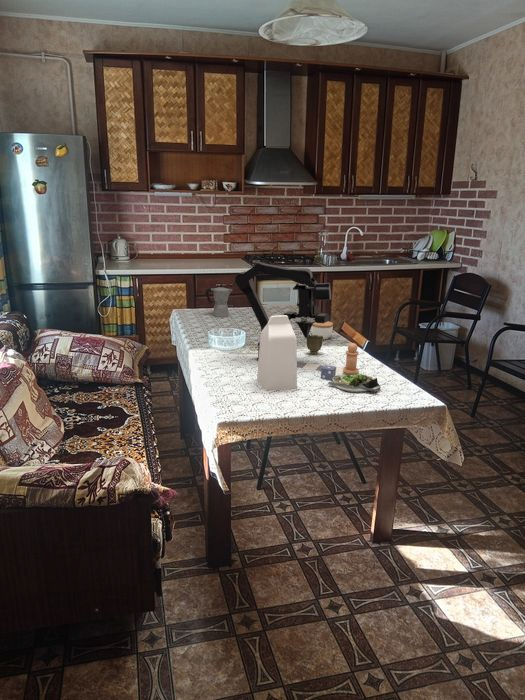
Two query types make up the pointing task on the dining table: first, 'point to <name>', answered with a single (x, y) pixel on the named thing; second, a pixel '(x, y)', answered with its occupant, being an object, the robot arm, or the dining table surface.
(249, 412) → the dining table surface
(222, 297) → the coffeepot
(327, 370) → the die
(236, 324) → the dining table surface
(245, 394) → the dining table surface
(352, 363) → the pawn
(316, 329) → the lidded jar
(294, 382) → the milk
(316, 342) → the cup
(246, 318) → the dining table surface
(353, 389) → the salad plate
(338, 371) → the board
